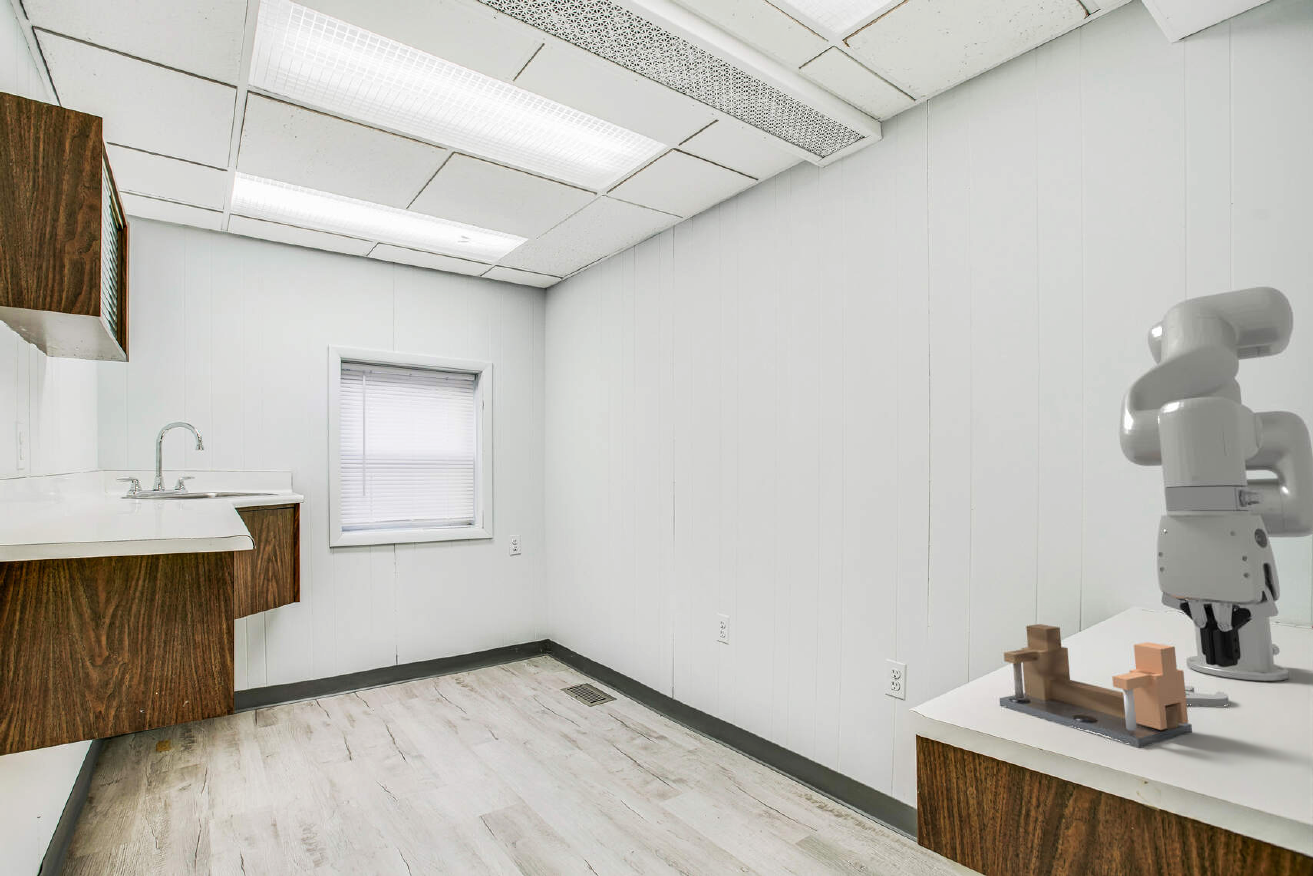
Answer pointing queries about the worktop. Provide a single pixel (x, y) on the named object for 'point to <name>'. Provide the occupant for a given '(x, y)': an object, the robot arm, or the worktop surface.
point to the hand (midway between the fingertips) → (1222, 664)
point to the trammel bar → (1063, 676)
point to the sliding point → (1152, 687)
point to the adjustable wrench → (1205, 698)
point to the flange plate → (1092, 720)
